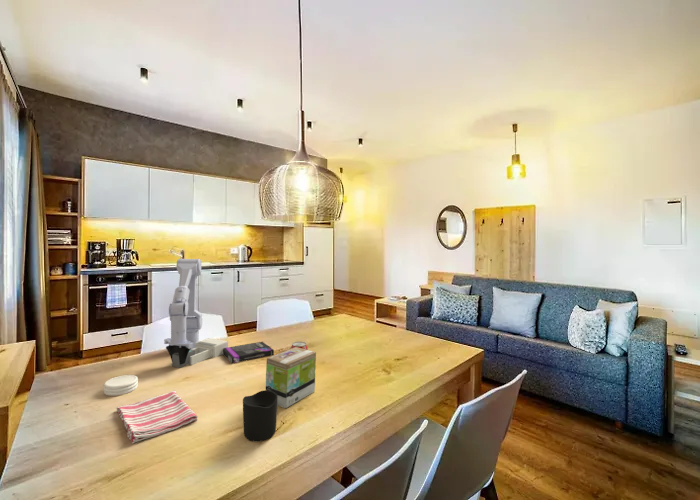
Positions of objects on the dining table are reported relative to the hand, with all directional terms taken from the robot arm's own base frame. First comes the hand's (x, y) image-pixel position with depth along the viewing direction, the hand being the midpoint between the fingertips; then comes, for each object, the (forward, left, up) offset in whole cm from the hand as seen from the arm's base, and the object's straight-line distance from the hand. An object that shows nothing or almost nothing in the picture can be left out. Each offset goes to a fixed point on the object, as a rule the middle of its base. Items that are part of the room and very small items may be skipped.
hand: (178, 362), depth 139 cm
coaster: (0, -23, -2) cm, 24 cm away
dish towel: (+27, -30, -2) cm, 41 cm away
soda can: (+49, +16, -2) cm, 51 cm away
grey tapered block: (0, +3, -1) cm, 3 cm away
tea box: (+57, -2, -2) cm, 57 cm away
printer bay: (0, +13, -1) cm, 13 cm away
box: (+17, +24, -2) cm, 29 cm away
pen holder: (+61, -24, -2) cm, 66 cm away
